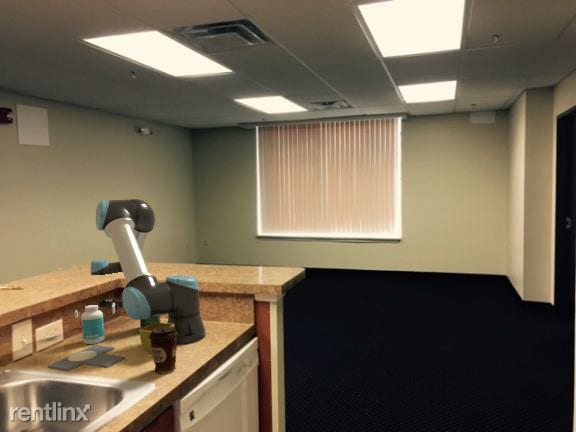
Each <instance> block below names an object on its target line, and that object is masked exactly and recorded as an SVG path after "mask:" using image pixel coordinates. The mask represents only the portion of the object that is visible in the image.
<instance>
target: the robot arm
mask: <svg viewBox="0 0 576 432" xmlns="http://www.w3.org/2000/svg"><path fill="white" fill-rule="evenodd" d="M155 223H156V215H155V211H154V209H153V208H152V206H151V205H150V204H149V203H147V202H146V201H144V200H143V199H138V198H132V199H112V200H111V199H108V200H101V201H99V202H98V204H97V206H96V210H95V226H96V229H97V230H98V231H101V232H104V235H105V236H106V237H108V238H109V239H111V242H112V246H113V247H114V250H115V253H116V256H117V259H118V261H116V262H109V260H108V259H103V258H102V259H100V258H99V259H94V260H92V261H91V262H90V270H89V271H90V276H91V275H105V274H112V273H118V272H123V273H124V276H125V277H124V278H125V281H126V284H125V286H124V289H123V291H122V293H121V295H122V296H121V299H122V300H119V299H116V297H112V298H111V299H109V300H108V299H104V298H103V299H102V301H100V302H99V306H100V307H103V309H106V308H110V309H111V313H112V315H114V314H115V312H116V311H117V310H119V309H124V311H125V312H126V314H127V316H128V317H129V318H131V319H132V320H135V321H140V319H148V318H150V317H155V316H160V317H161V316H163V315H167V316H168V318H167V319H168V320H167V323H168V324H174V328H175V331H177V332H178V337H177V342H176V345H183V344H189V343H190V344H191V343H196V342H199V341H201V340H203V339H204V338H206V336H207V333H206V332H207V331H206V327H205V325H204V322H203V319H202V317H201V308H200V287H199V286H200V285H199V281H198V279H197V277H194V276H189V275H168V276H166V278H165V281H162V282H161V281H160V282H159V281H158V279H157V277H156V275H155V274H151V272H150V270H149V268H148V264H147V262H146V260H145V258H144V255H143V251H144V248H145V246H146V242H147V240H148V237H149V234H150V233H151V232H153V230H154V228H155ZM74 317H75V318H79V315H78V311H77V310H75V315H74Z"/></svg>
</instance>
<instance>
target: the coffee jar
mask: <svg viewBox="0 0 576 432" xmlns="http://www.w3.org/2000/svg"><path fill="white" fill-rule="evenodd" d="M154 322H157V323H162V322H161V315H160V316H155V317H150V318H148V319H140V320H139V323H140V324H139V325H140V327H139V328H140V329H142V328H144V327H146V326H148V325H150V324H152V323H154Z"/></svg>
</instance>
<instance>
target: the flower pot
mask: <svg viewBox="0 0 576 432" xmlns="http://www.w3.org/2000/svg"><path fill="white" fill-rule="evenodd" d="M157 327H174V324H168V323H165V322H161V323H157V322H154V323H152V324H150V325H148V326H146V327H144V328H142V329H141V328H140V329H138V333H139V338H140V342H141V346H142V347H143V349H144V351H145V352H146V353H147V354H148V355H153V354H152V348H151V339H149V335H150V334H151V332H152V331H151V330H152V329H155V328H157Z"/></svg>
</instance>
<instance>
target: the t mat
mask: <svg viewBox="0 0 576 432" xmlns="http://www.w3.org/2000/svg"><path fill="white" fill-rule="evenodd" d="M113 350H115V347H114V346H107V345H101V344H92V345H90V346H89V347H87V348H84V349H82V350H79V351H77V352H75V353H72V354H71V355H68V356H66V357H64V358H62V359H59V360H57V361H54V362H53V363H50V364H48V365H47V368H49V369H54V370H55V369H56V370H61V371H67V372H69V371H71V370H74V369H75V368H78V367H80V366H82V365H89V366H96V367H101V368H109V367H111V366H112V365H113V366H114V365H115V364H117V363H119V362H120V361H122V360H124V359H125V358H126V357H125V356H124V355H123V356H122V355H115V354H108V352H112V351H113Z"/></svg>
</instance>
